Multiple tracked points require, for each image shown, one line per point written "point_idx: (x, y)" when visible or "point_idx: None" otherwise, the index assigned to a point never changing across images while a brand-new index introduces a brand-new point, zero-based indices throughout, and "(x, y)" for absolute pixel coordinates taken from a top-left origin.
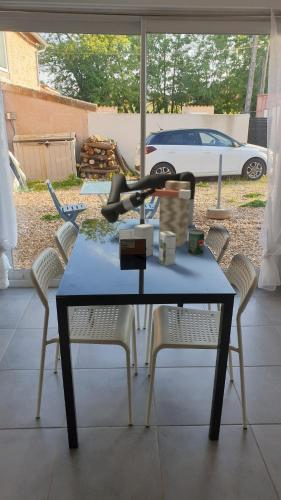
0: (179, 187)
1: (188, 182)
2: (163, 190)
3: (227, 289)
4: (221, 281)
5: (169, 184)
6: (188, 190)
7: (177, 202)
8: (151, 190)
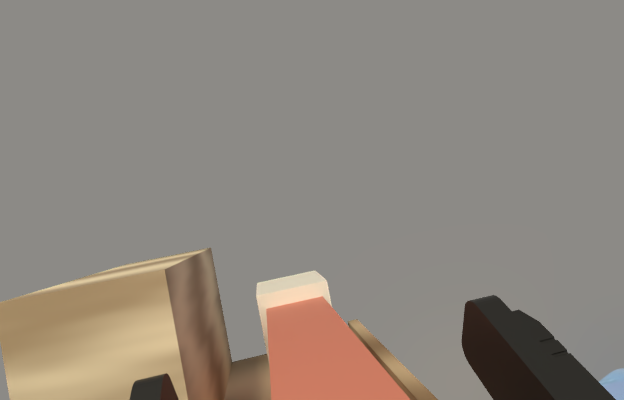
0: (209, 300)
1: (161, 257)
2: (325, 349)
3: (613, 374)
4: None
5: (185, 295)
6: (280, 279)
7: None
8: (549, 342)
